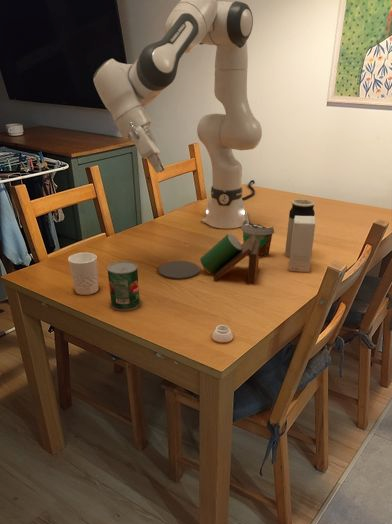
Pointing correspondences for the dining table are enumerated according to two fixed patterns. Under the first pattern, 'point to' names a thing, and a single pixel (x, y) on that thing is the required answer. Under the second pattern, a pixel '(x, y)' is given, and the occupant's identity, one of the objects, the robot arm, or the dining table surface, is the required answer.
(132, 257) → the dining table surface
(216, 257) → the can
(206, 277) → the dining table surface
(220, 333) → the white jar
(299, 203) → the travel mug
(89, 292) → the white cup
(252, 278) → the stand
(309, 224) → the cosmetic box
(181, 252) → the dining table surface
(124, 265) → the canned tomato
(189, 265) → the disc
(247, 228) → the food container
